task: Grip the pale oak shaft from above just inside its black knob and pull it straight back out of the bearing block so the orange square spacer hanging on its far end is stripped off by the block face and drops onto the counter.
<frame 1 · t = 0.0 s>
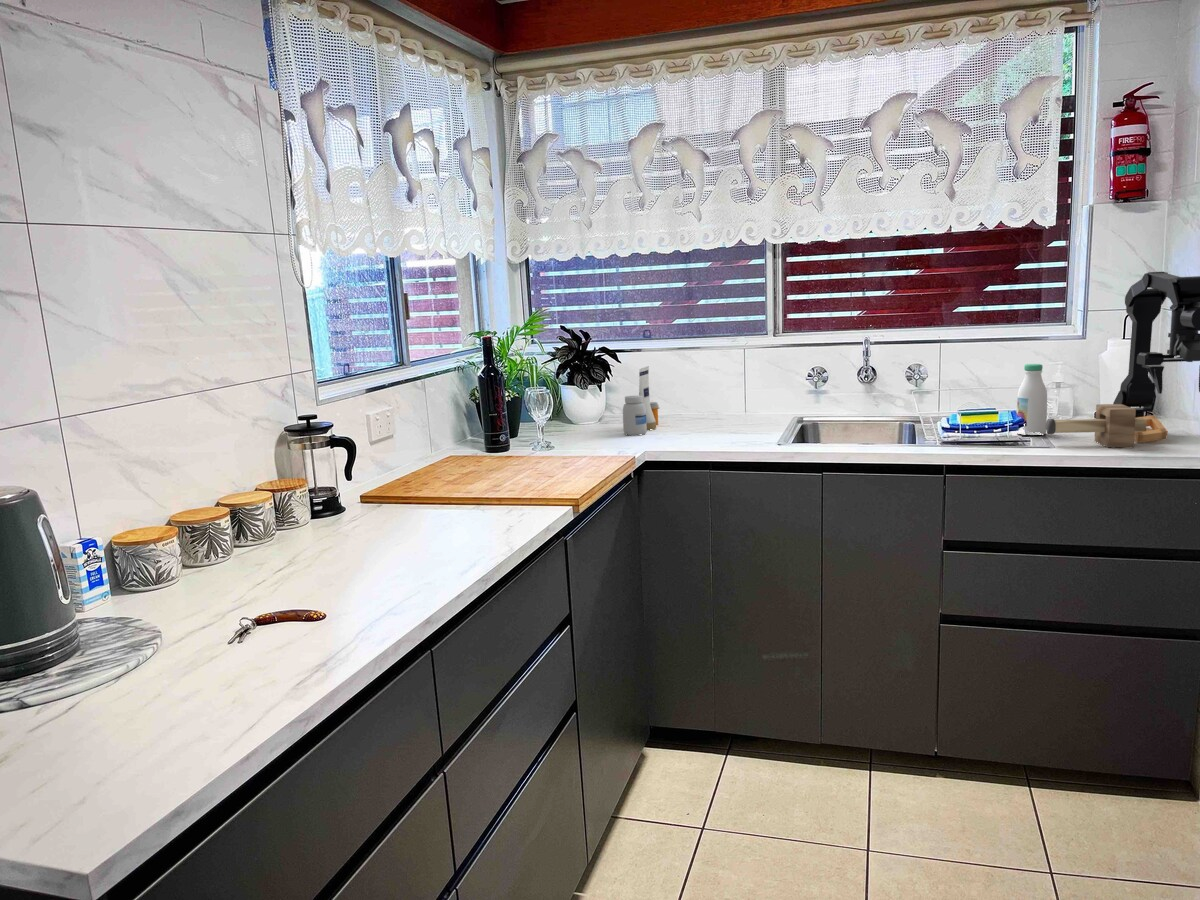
hand: (1180, 393, 223), 15 cm above the worktop, tool pointing down, fingers open, 9 cm apart
shaft: (1095, 425, 239), point 5 cm above the worktop, slide at 0.0 cm
toiletry set: (643, 430, 300), on the worktop
spacer: (1145, 428, 241), point 3 cm above the worktop, tilted 63°, touching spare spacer
bearing block: (1113, 444, 239), on the worktop
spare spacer: (1141, 438, 245), on the worktop, touching arm, spacer
milk bottle: (1030, 435, 259), on the worktop
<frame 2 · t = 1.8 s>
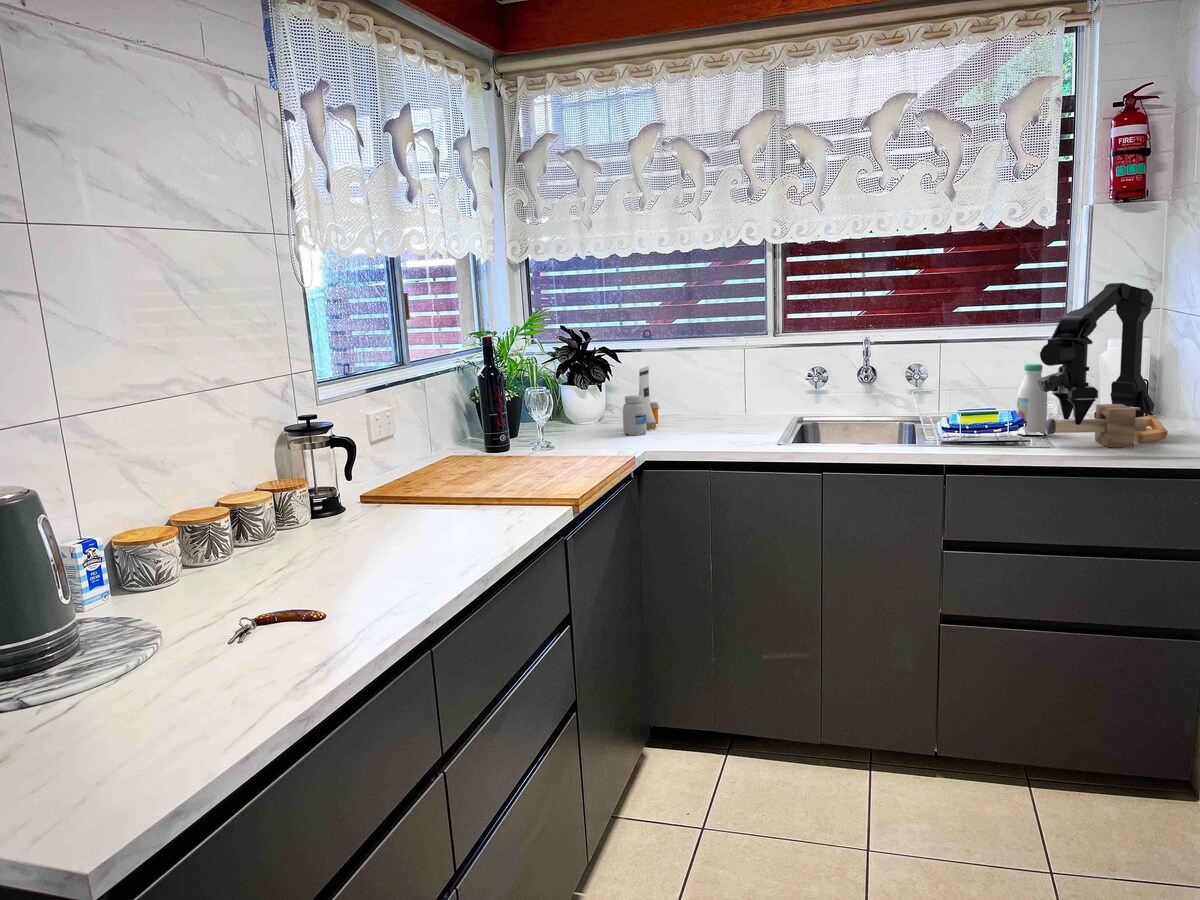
hand: (1071, 421, 239), 6 cm above the worktop, tool pointing down, fingers open, 9 cm apart
nothing on the worktop moved.
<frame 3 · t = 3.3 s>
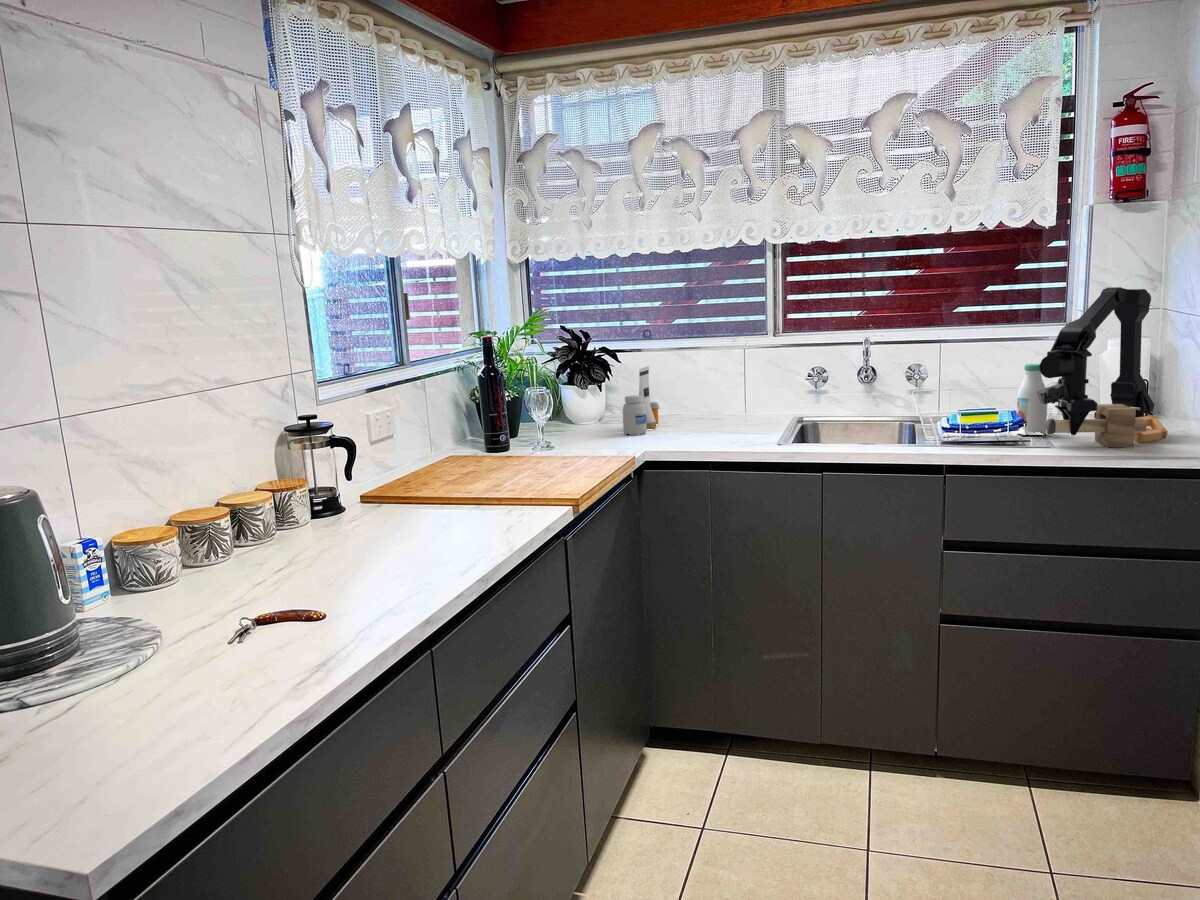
hand: (1071, 433, 240), 3 cm above the worktop, tool pointing down, fingers closed on shaft, 3 cm apart
shaft: (1095, 425, 239), point 5 cm above the worktop, slide at 0.0 cm, touching gripper
everything else where it was.
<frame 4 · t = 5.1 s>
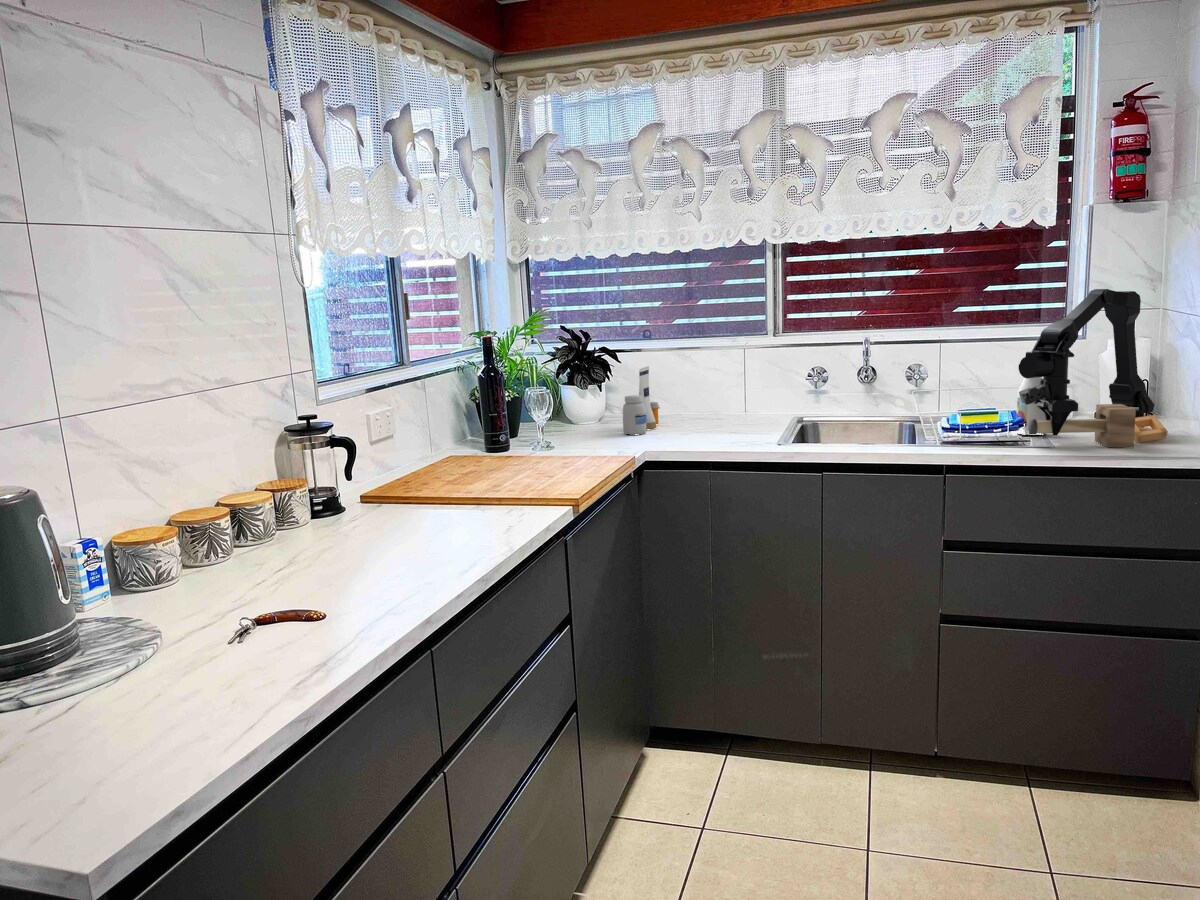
hand: (1053, 434, 241), 3 cm above the worktop, tool pointing down, fingers closed on shaft, 3 cm apart
shaft: (1077, 425, 239), point 5 cm above the worktop, slide at 4.5 cm, touching gripper
everything else where it was.
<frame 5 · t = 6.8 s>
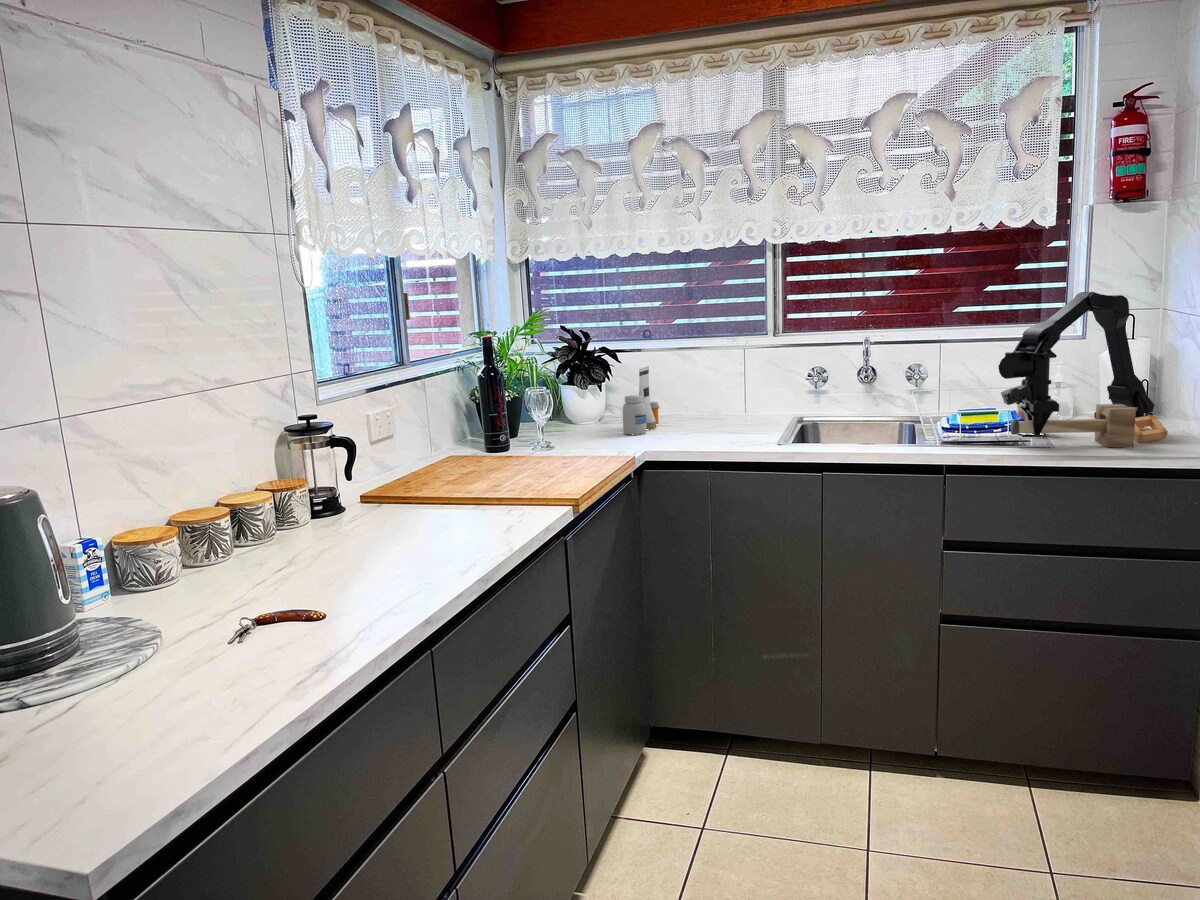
hand: (1034, 434, 242), 3 cm above the worktop, tool pointing down, fingers closed on shaft, 3 cm apart
shaft: (1059, 426, 240), point 5 cm above the worktop, slide at 8.9 cm, touching gripper
everything else where it was.
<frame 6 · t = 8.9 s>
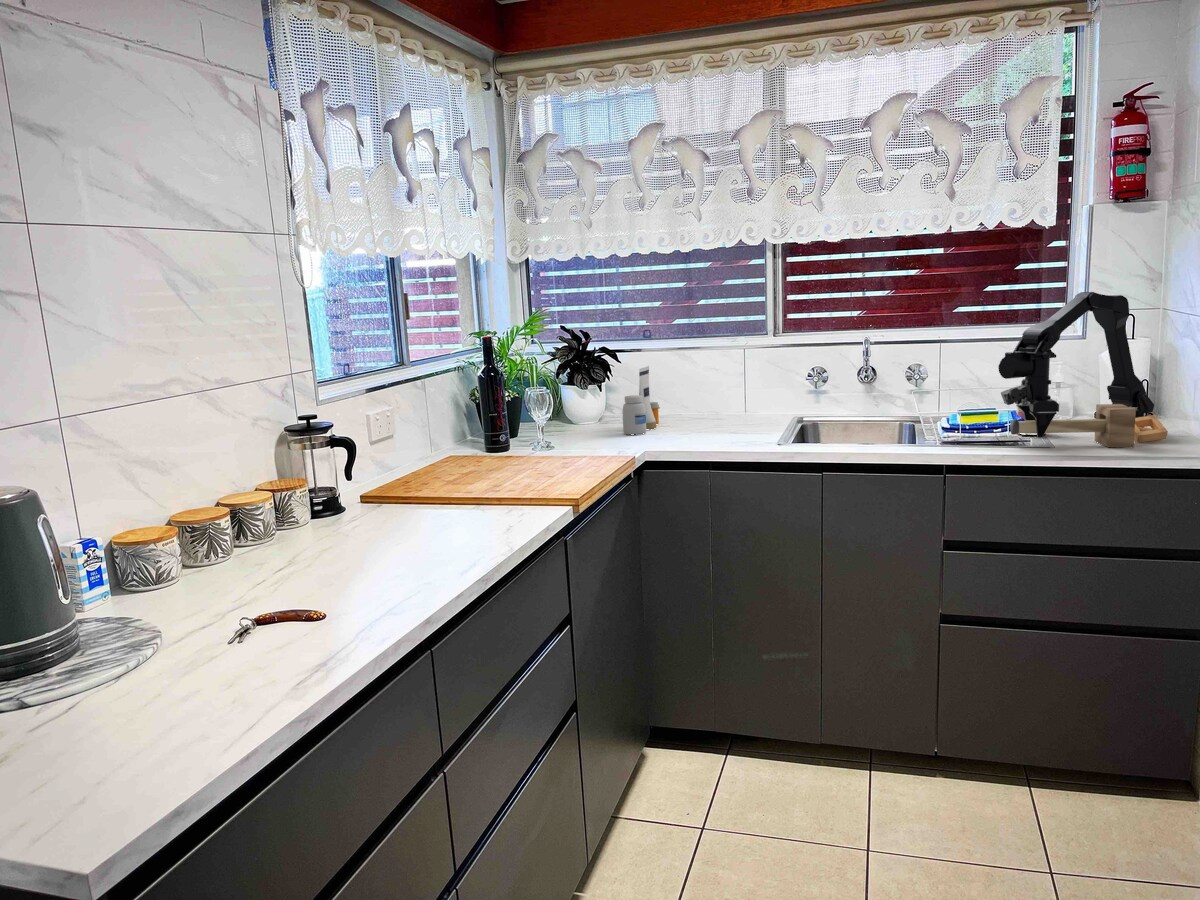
hand: (1034, 434, 242), 3 cm above the worktop, tool pointing down, fingers open, 9 cm apart
shaft: (1058, 426, 240), point 5 cm above the worktop, slide at 9.0 cm
everything else where it was.
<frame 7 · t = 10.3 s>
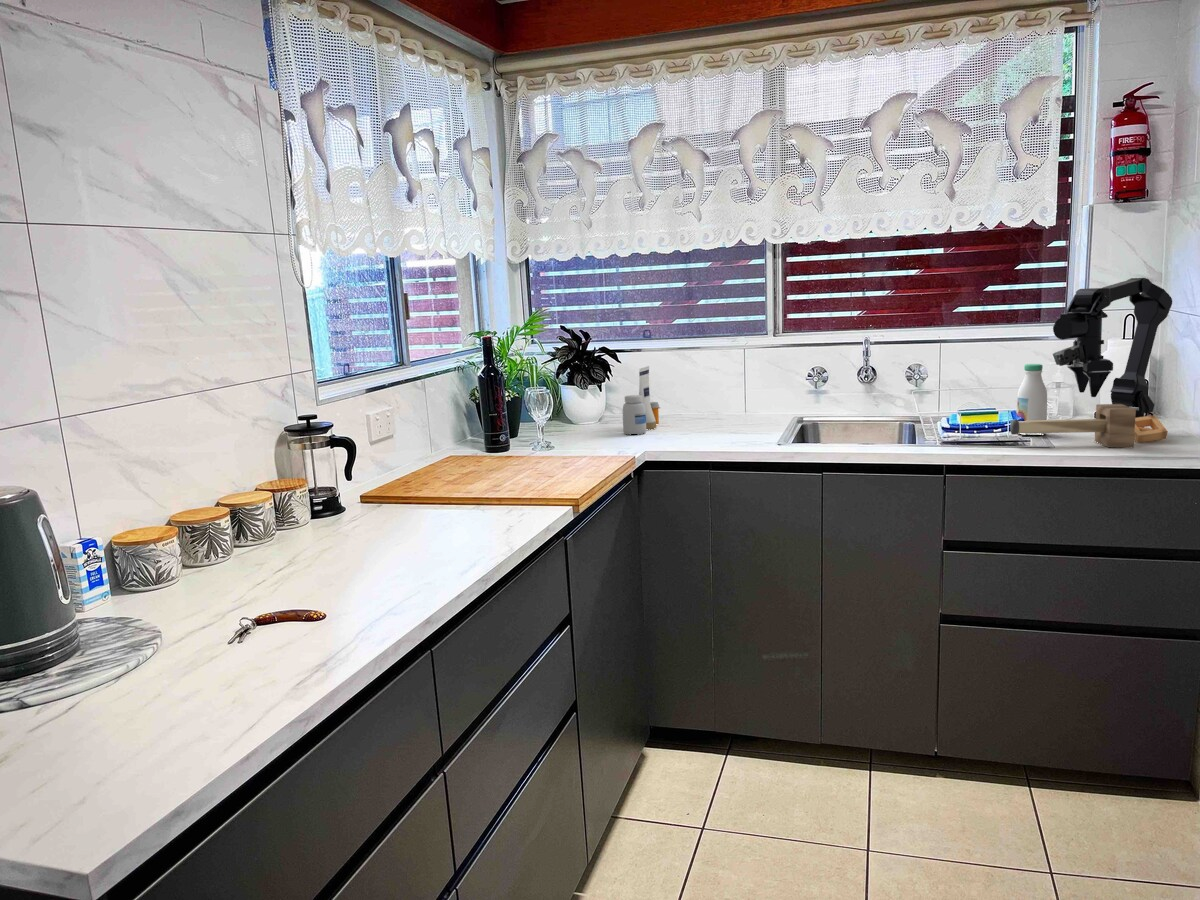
hand: (1087, 394, 244), 13 cm above the worktop, tool pointing down, fingers open, 9 cm apart
nothing on the worktop moved.
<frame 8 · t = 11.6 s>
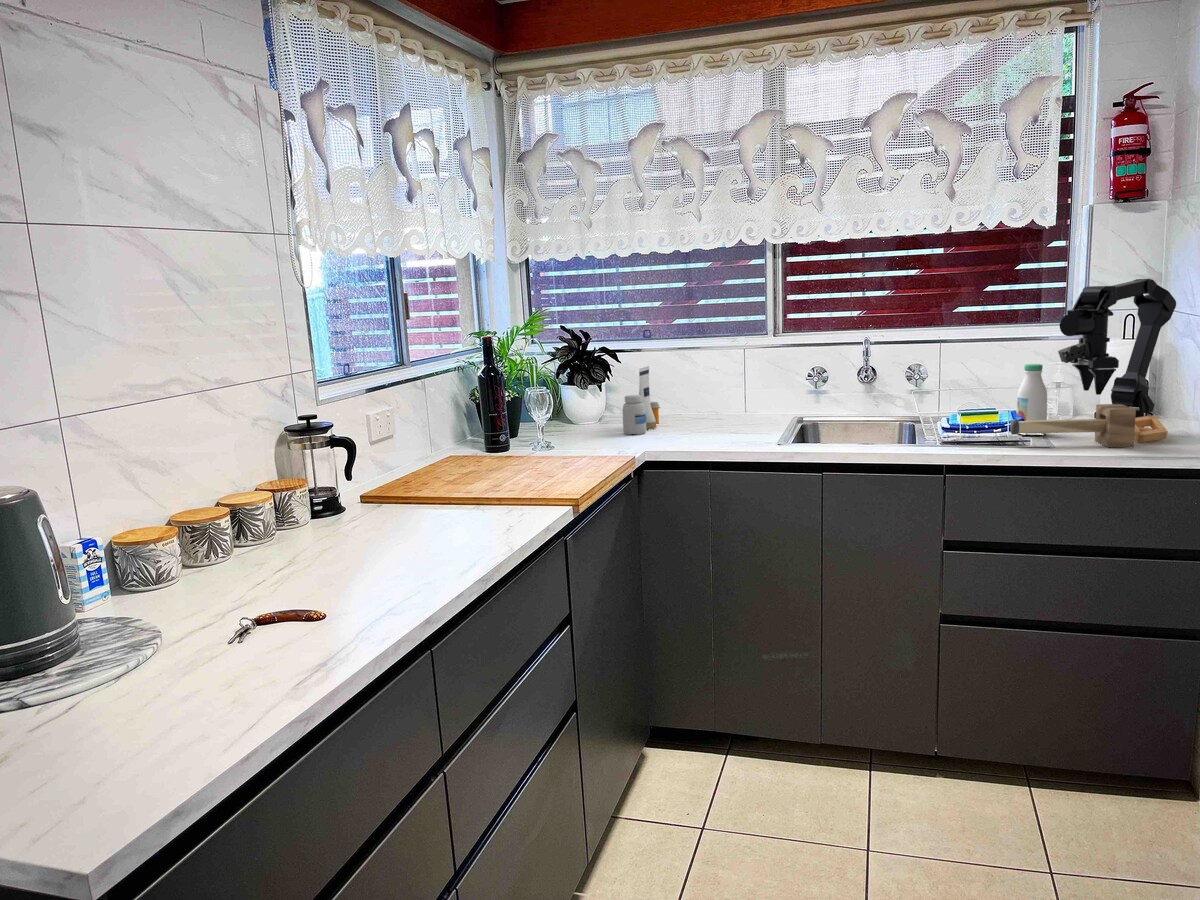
hand: (1092, 392, 244), 13 cm above the worktop, tool pointing down, fingers open, 9 cm apart
nothing on the worktop moved.
at the end: shaft slide at 9.0 cm; spacer point 3.2 cm above the worktop; spacer touching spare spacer, worktop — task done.
